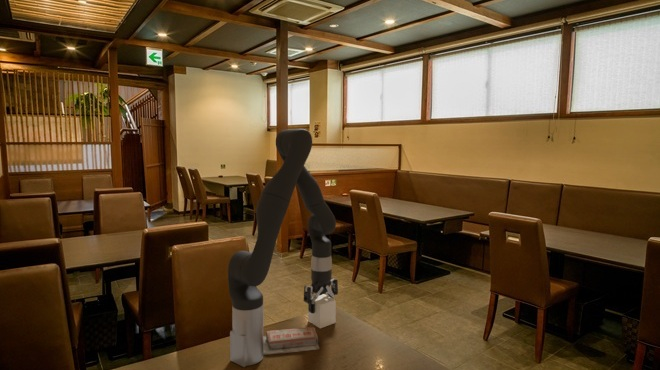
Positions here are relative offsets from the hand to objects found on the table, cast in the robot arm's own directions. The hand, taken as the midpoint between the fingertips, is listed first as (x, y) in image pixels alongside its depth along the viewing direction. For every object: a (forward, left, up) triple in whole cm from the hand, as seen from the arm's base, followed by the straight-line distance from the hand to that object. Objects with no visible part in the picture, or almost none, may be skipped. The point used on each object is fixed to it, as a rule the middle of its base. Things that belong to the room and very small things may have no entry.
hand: (321, 309), depth 145 cm
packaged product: (-19, -2, -5) cm, 20 cm away
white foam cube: (0, -1, -5) cm, 5 cm away
